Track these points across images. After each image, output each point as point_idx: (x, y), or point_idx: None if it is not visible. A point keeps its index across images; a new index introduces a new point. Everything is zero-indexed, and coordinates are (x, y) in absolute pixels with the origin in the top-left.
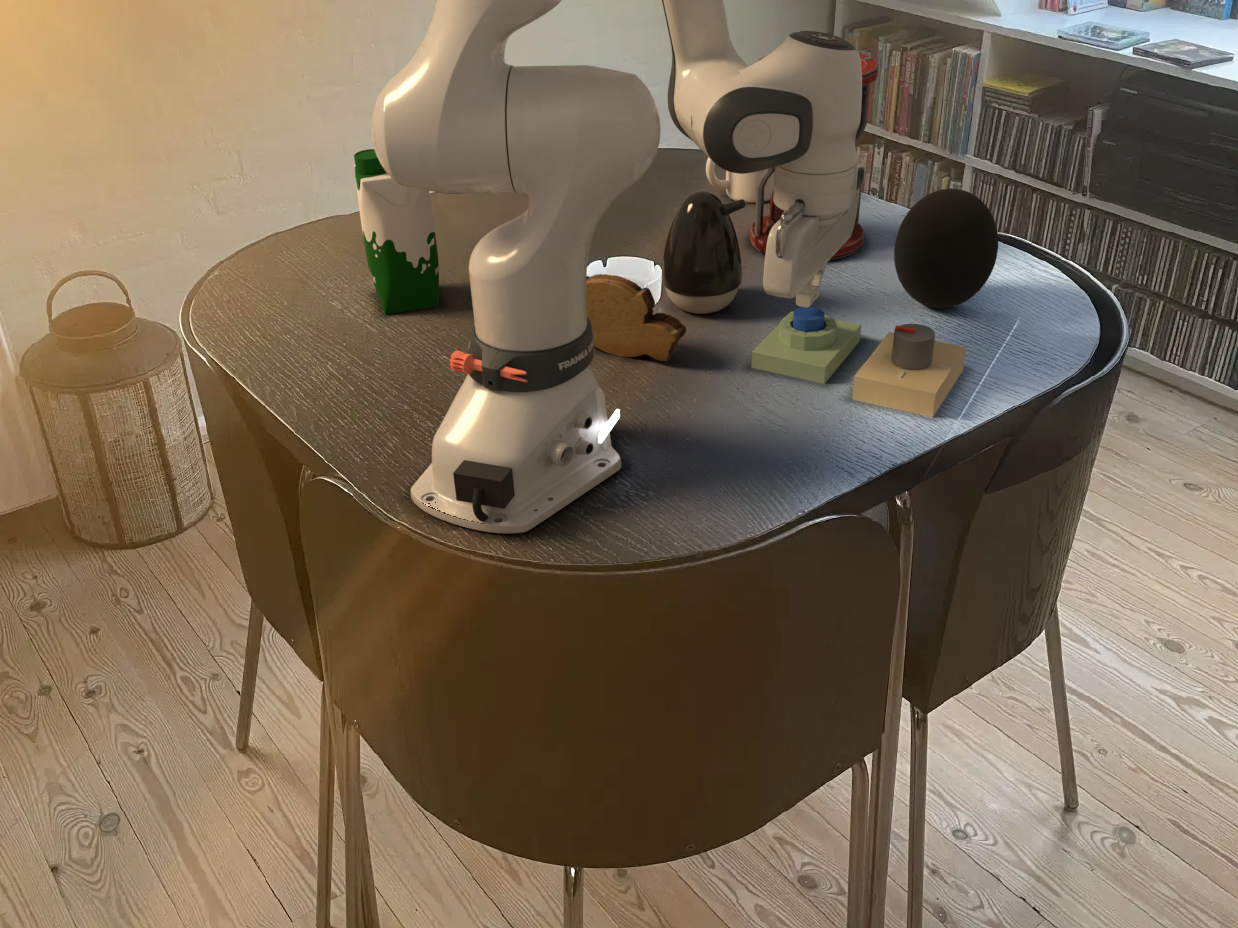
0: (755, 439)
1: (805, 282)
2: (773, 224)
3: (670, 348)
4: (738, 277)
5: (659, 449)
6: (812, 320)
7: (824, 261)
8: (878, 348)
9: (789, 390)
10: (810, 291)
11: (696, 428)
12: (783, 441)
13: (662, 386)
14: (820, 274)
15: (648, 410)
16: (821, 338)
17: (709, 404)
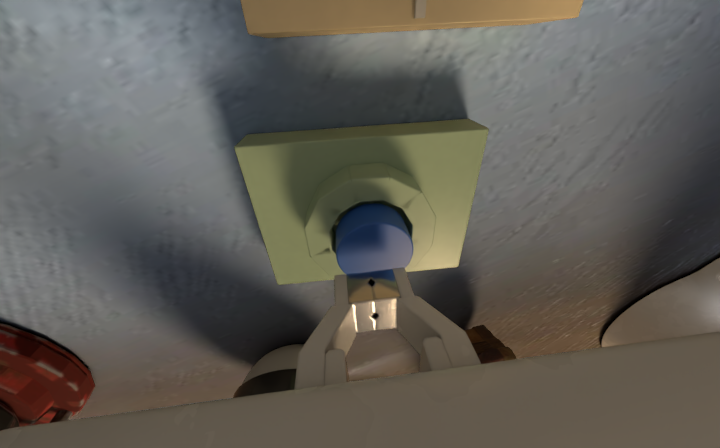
0: (685, 140)
1: (664, 365)
2: (20, 423)
3: (499, 340)
4: (281, 387)
5: (691, 236)
6: (408, 234)
7: (412, 406)
8: (380, 18)
9: (505, 166)
10: (430, 305)
11: (638, 226)
12: (702, 91)
13: (523, 300)
14: (332, 338)
15: (586, 286)
16: (415, 186)
17: (567, 242)
